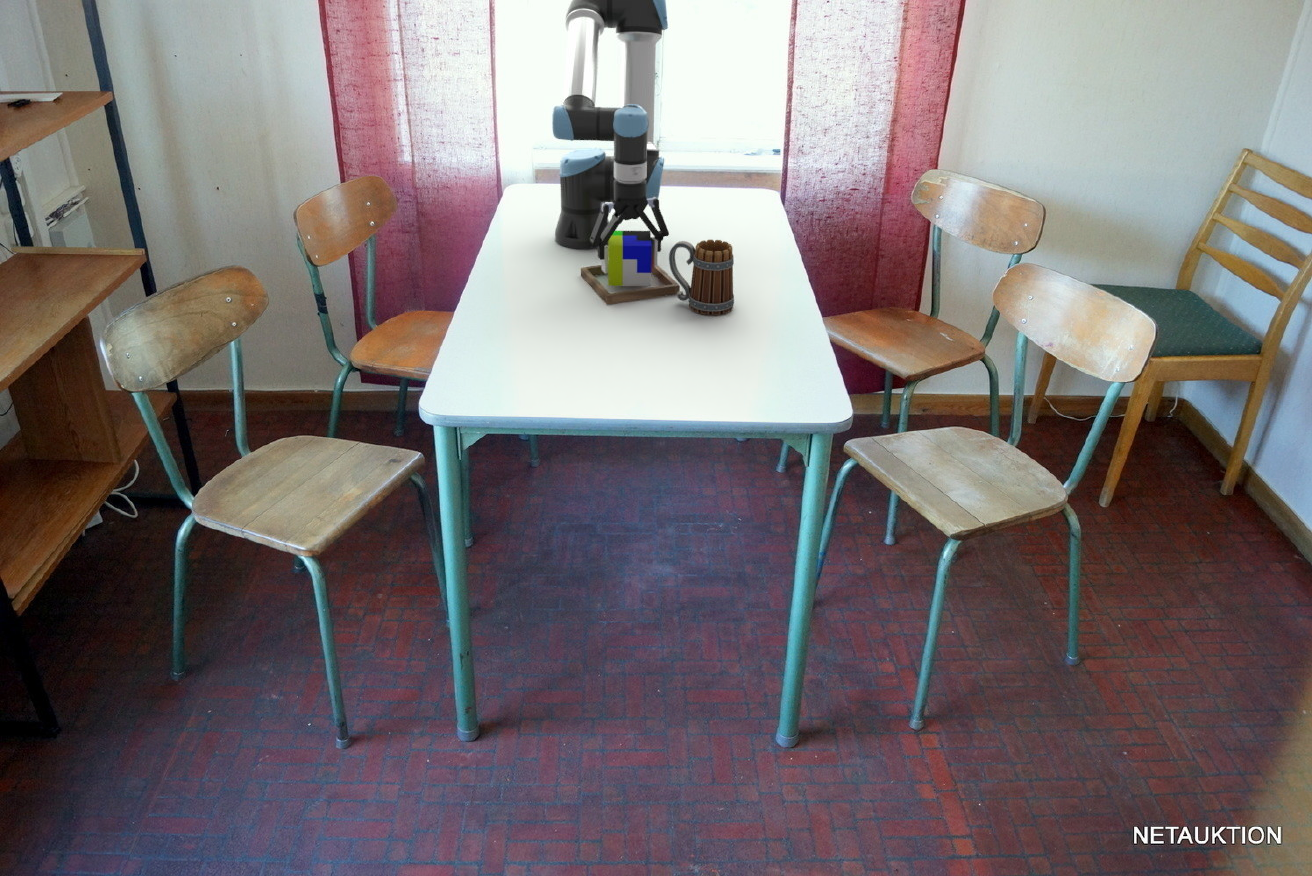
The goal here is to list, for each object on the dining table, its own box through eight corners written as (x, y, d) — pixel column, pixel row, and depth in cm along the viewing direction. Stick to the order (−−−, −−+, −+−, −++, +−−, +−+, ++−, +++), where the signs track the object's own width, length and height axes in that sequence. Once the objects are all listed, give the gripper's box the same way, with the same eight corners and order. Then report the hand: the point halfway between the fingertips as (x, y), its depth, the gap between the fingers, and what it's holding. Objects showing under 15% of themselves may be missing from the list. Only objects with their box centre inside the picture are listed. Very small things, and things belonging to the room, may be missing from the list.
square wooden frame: (580, 276, 251) (580, 267, 250) (649, 266, 257) (649, 258, 256) (607, 305, 236) (607, 296, 235) (679, 294, 243) (679, 285, 242)
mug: (738, 302, 239) (743, 241, 232) (726, 319, 231) (730, 257, 223) (675, 292, 244) (677, 232, 236) (661, 309, 235) (662, 247, 227)
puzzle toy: (650, 286, 242) (651, 246, 237) (608, 285, 241) (608, 245, 236) (649, 270, 250) (650, 231, 245) (608, 269, 250) (608, 230, 245)
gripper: (585, 189, 226) (587, 280, 237) (685, 178, 234) (681, 267, 246) (574, 179, 232) (576, 269, 243) (671, 169, 240) (669, 256, 252)
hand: (629, 268), depth 245 cm, fingers closed on puzzle toy, 12 cm apart
